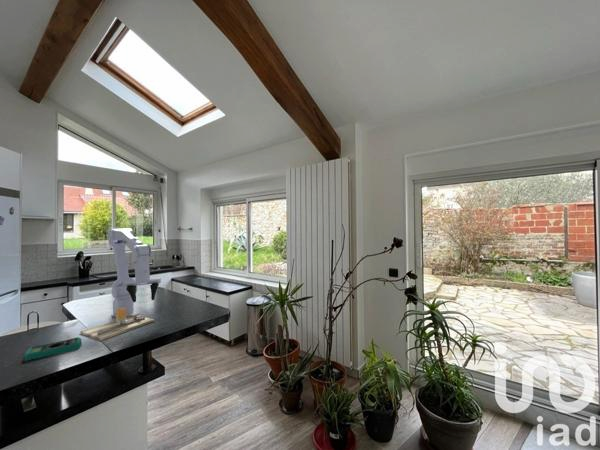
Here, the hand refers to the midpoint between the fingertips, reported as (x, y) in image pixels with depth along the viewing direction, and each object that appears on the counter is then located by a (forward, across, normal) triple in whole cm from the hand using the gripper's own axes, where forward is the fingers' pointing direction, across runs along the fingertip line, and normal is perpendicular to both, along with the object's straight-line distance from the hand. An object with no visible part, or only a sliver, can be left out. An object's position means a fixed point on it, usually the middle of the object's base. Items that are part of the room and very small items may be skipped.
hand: (143, 300), depth 121 cm
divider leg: (+9, -9, -1) cm, 13 cm away
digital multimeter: (+11, -24, -19) cm, 33 cm away
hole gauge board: (+10, -10, 0) cm, 15 cm away
